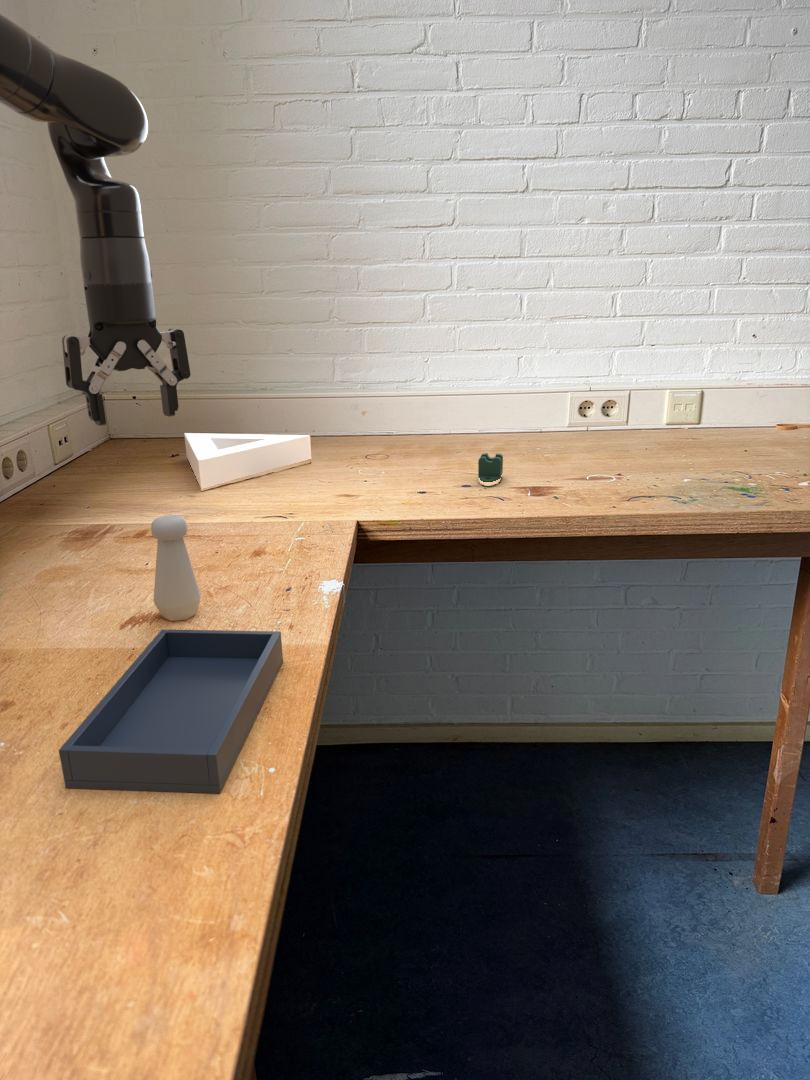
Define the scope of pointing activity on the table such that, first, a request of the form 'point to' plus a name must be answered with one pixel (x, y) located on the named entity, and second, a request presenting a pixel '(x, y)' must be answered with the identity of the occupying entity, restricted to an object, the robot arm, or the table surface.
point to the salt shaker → (174, 570)
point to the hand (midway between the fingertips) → (135, 420)
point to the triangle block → (241, 454)
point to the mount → (490, 467)
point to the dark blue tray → (176, 714)
